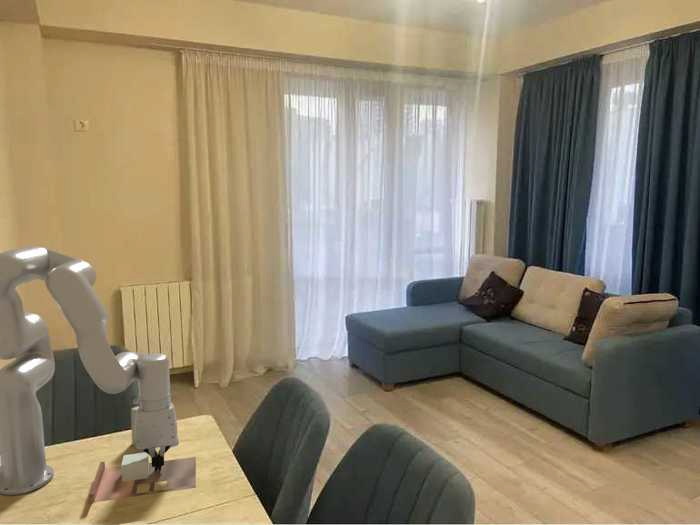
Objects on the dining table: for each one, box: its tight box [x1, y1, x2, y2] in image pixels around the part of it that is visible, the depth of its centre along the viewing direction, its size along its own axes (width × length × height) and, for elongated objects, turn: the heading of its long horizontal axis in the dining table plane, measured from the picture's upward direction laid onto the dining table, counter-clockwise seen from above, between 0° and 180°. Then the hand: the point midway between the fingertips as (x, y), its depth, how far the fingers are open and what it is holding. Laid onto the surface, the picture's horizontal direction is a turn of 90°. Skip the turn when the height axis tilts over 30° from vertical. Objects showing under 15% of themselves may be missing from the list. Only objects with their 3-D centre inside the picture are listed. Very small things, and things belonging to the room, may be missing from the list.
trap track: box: [89, 456, 197, 509], centre depth 132 cm, size 24×15×4 cm, turn 107°
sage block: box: [120, 452, 150, 482], centre depth 133 cm, size 6×5×4 cm
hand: (158, 468), depth 135 cm, fingers closed
